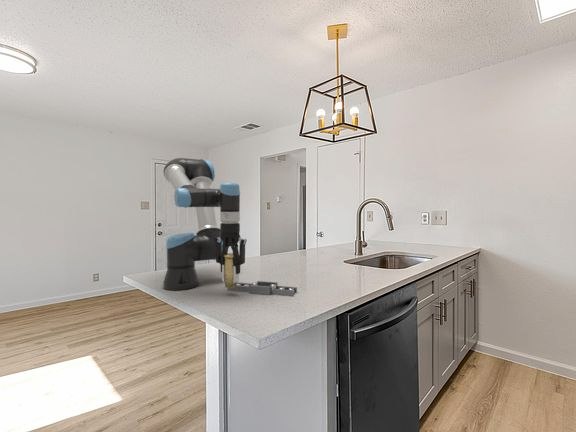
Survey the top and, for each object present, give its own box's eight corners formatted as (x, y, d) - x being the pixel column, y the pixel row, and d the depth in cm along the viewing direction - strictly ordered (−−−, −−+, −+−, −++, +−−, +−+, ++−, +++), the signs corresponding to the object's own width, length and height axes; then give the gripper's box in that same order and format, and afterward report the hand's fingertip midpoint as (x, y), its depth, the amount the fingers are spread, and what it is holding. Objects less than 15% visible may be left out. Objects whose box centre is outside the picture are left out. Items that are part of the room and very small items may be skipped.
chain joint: (225, 290, 127) (225, 283, 127) (235, 285, 135) (235, 279, 135) (291, 297, 118) (291, 289, 117) (298, 291, 125) (298, 284, 125)
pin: (221, 287, 120) (221, 254, 119) (228, 284, 125) (228, 252, 124) (232, 288, 118) (232, 255, 118) (239, 285, 123) (238, 253, 122)
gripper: (205, 222, 120) (206, 281, 121) (245, 223, 114) (245, 285, 115) (216, 221, 127) (216, 277, 128) (254, 222, 121) (254, 280, 122)
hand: (230, 281), depth 122 cm, fingers closed on pin, 4 cm apart
